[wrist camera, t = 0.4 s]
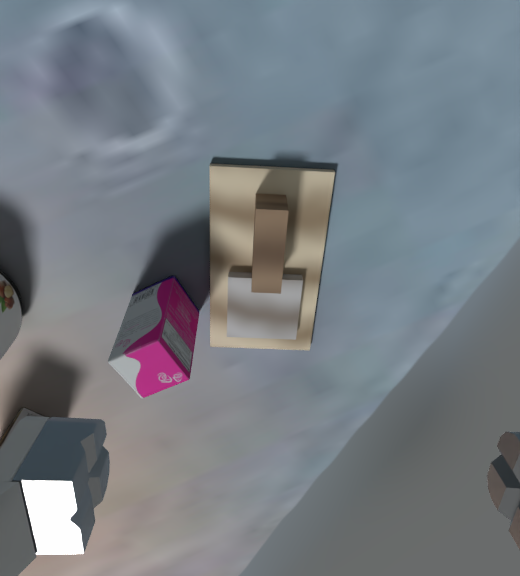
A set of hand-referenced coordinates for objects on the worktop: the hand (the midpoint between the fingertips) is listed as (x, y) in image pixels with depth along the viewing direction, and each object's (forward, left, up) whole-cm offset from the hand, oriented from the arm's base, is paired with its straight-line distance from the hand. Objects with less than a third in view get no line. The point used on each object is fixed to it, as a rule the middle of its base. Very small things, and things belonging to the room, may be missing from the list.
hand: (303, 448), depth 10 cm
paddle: (+17, +1, -37) cm, 41 cm away
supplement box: (+22, -10, -38) cm, 45 cm away
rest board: (+17, +1, -38) cm, 41 cm away
